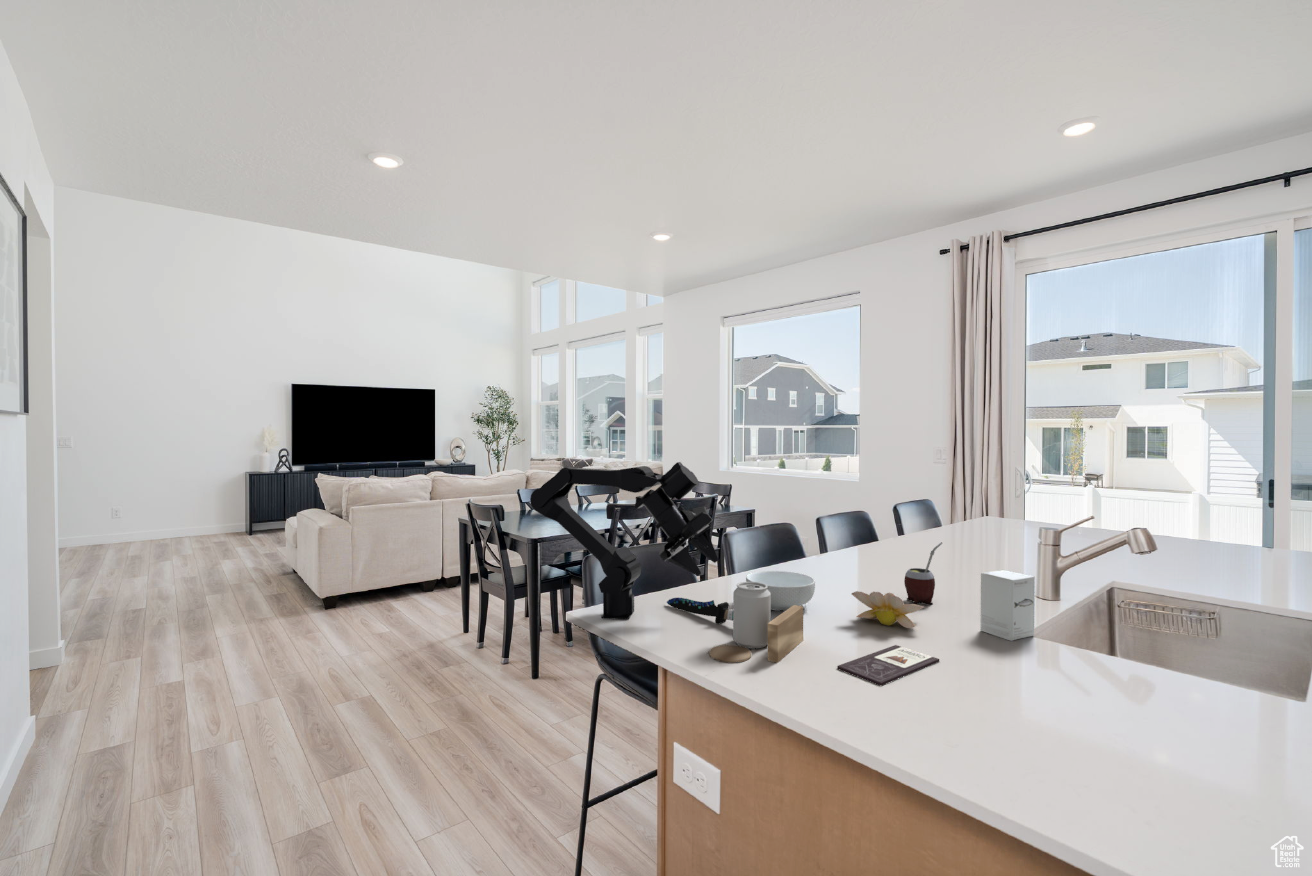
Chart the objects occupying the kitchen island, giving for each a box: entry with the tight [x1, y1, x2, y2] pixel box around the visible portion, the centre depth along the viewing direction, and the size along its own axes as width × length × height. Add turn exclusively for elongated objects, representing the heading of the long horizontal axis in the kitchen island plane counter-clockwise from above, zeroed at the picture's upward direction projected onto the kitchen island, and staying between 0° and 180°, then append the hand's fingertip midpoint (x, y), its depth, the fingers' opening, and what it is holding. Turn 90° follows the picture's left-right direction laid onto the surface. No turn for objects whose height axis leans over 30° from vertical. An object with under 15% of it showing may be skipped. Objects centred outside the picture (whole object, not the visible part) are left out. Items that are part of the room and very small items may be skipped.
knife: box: [666, 597, 733, 625], centre depth 137 cm, size 31×3×4 cm, turn 37°
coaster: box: [709, 644, 752, 664], centre depth 116 cm, size 8×8×1 cm
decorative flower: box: [851, 590, 925, 629], centre depth 134 cm, size 15×11×10 cm
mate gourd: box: [904, 542, 943, 606], centre depth 150 cm, size 8×8×15 cm
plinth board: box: [767, 605, 804, 664], centre depth 118 cm, size 2×14×7 cm, turn 147°
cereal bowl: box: [745, 570, 816, 611], centre depth 147 cm, size 17×17×7 cm
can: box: [732, 581, 772, 649], centre depth 121 cm, size 8×8×12 cm
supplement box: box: [980, 569, 1036, 642], centre depth 126 cm, size 7×7×13 cm
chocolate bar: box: [836, 644, 940, 686], centre depth 110 cm, size 9×1×18 cm
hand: (707, 568), depth 133 cm, fingers open, 9 cm apart
